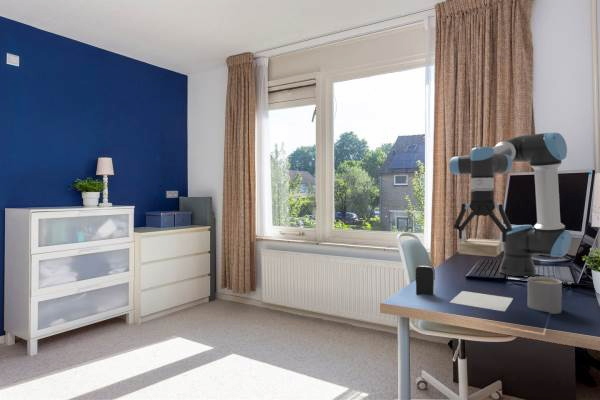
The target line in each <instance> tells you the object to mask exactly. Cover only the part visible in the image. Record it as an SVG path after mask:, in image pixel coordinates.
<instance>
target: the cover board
mask: <svg viewBox="0 0 600 400" xmlns="http://www.w3.org/2000/svg"><path fill="white" fill-rule="evenodd" d="M504 247H505V242H503V251H502V252H504ZM502 252H501V251H500V239H490V238H489V239H487V238H475V237H474V238H473V237H470V238H468V239H467V238H466V241H463V242H462V241H461V242H459V243H458V254H459V255H460V254H462V255H469V256H470V255H473V256H483V257H494V258H495V257H497V256H499V255H500V254H501V253H502Z"/></svg>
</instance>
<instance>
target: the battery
mask: <svg viewBox="0 0 600 400" xmlns="http://www.w3.org/2000/svg"><path fill="white" fill-rule="evenodd" d="M435 280H436V271H435V268H434V267H433V266H431V265H421V264H420V265H418V266H416V267H415V294H416V295H419V296H420V295H426V296H434V295H435Z"/></svg>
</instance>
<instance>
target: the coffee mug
mask: <svg viewBox="0 0 600 400" xmlns="http://www.w3.org/2000/svg"><path fill="white" fill-rule="evenodd" d="M562 291H563V282H562V280H560V279H558V278H552V277H547V276H534V277H527V298H526V299H527V300H526V301H527V307H528V308H530V309H532V310H536V311H539V312H547V313H548V314H551V315H555V314H560V313H562V305H563V304H562V303H563V300H562V299H563V298H562V297H563V292H562Z"/></svg>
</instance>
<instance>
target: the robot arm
mask: <svg viewBox="0 0 600 400" xmlns="http://www.w3.org/2000/svg"><path fill="white" fill-rule="evenodd" d="M470 151H471V152H470V153H469V154H465V155H458V156H453V157H451V159H449V164H448V166H449V167H448V168H449V172H450V173H452V175H456V176H457V175H459V176H463V175H464V176H465V175H470V189H471V191H470V203H462V204H461V207H460V212H459V213H458V216H457V218H456V221H455V223H454V225H453V229H456V230H458V239H460V240H461V242H463V241H466V240H467V237H466V236H467V232H466V231H467V230H465V228H466V227H467V226H468V224H469V223H470V222H471V221H472V220H473V219H474V217H475V216H476V217H477V216H478V217H480V216H483V217H487V216H488V217H489V218H490V219H491V220H492V221H493V222H494V224H495V225H496V226H497V228H498V229H499V230H500V231H501V232H499V240H500V251H501V253H502V252H503V258H502V261H501V264H500V266H499V273H500V272H501V273H504V274H506V275H505V276H508V275H513V276H512V277H514V276H533V275H536V276H537V270H536V266H535V264H534V260H533V255H540V256H548V257H551V258H553V257H554V258H555V257H557V258H562V257H564V256H566V254H568V252H569V250H570V247H571V245H572V234H571V232H570V231H568V230H566V225H565V224H564V223H562V222H561V212H560V211H561V210H560V193H559V192H560V190H559V173H558V171H559V169H558V168H559V167H560V166H561V165H562V161H563V160H565V159H566V158H567V153H568V146H567V143H566V140H565V138H564V136H563V135H562V134H560V132H544V133H537V134H535V133H534V134H528V135H526V134H525V135H519V136H516V137H511V138H509V139H507V140H503V141H501V142H498V143H497V144H496V145H495V146H477V147H472V148H471V150H470ZM513 162H518V163H519V162H529V166H530V168H532V169H533V171H534V184H535V185H534V187H535V207H536V223H535V224H534V225H532V224H518V225H516V224H515V225H512V224H511V222H510V220H509V218H508V216H507V214H506V212H505V206H504V204H503V203H500V204H495V199H494V198H495V197H494V195H495V194H494V193H495V192H494V190H493V189H495V179H494V178H495V176H494V175H495V174H498V175H499V174H500V175H502V174H506V173H508V172H509V171H510V170H511V169H512V167H513ZM495 208H496V210H497V211H499V214H500V216H501V219H502V221H503V223H504V224H503V223H502V222H501V221H500V219H499V218H498V217H497V216H496V214H495V212H493V211H494V209H495ZM468 209H470V210H471V212H470V214H469V215H468V216H467V217H466V218H465V220H464V221H463V222H462V220H463V219H464V216H465V213H467V210H468ZM461 223H462V224H461ZM504 225H505V226H504ZM503 242H505V247H504V251H503ZM501 273H500V274H501ZM504 274H503V275H504Z"/></svg>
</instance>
